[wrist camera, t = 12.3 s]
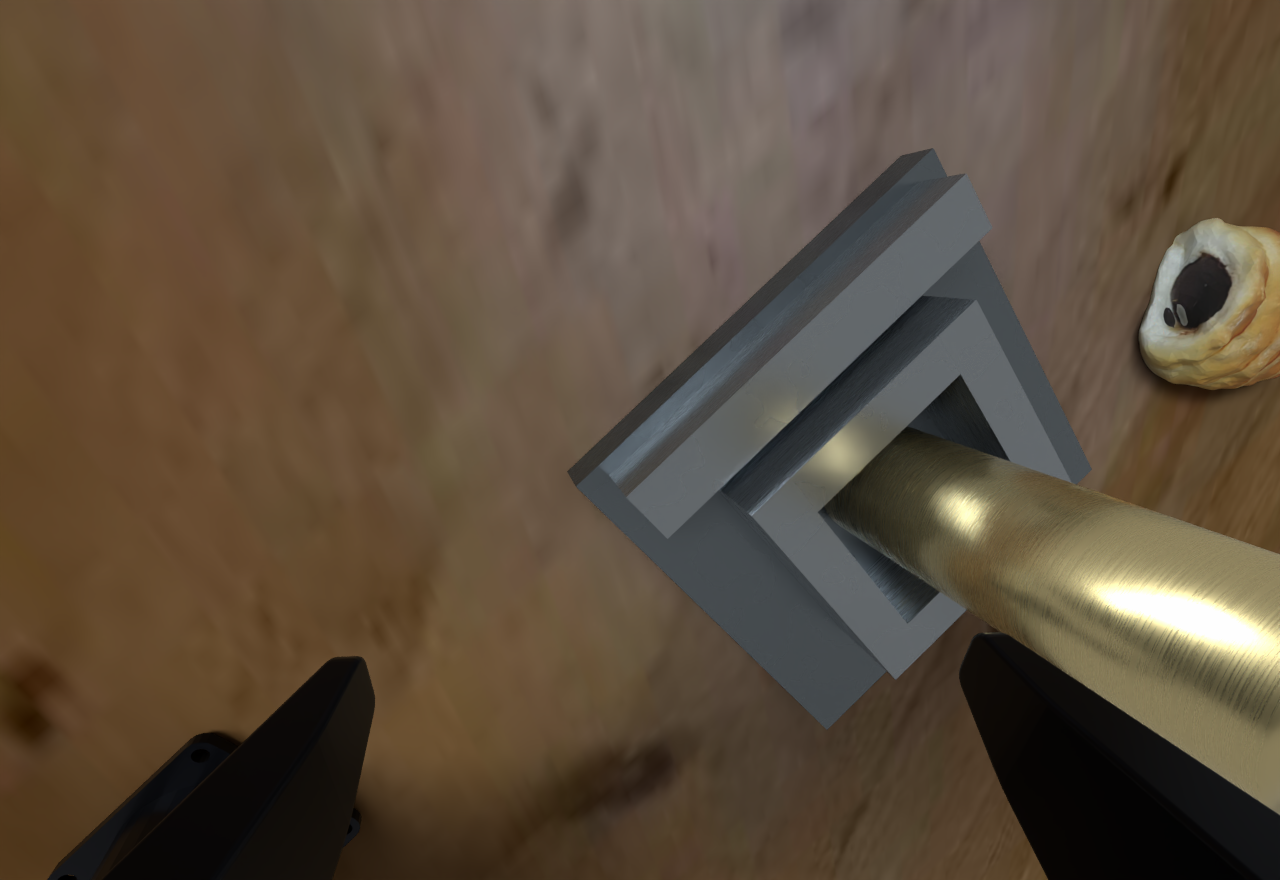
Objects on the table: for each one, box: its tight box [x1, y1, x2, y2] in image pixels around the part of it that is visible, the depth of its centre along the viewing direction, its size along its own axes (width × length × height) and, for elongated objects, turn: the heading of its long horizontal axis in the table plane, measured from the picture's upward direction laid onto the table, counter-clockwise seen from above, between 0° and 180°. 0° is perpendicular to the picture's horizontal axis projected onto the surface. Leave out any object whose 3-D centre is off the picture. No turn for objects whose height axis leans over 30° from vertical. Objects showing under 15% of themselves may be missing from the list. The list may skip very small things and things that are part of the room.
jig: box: [567, 148, 1092, 729], centre depth 22 cm, size 16×16×4 cm
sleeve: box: [824, 426, 1280, 815], centre depth 17 cm, size 4×4×13 cm
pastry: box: [1138, 218, 1280, 390], centre depth 26 cm, size 9×7×4 cm
